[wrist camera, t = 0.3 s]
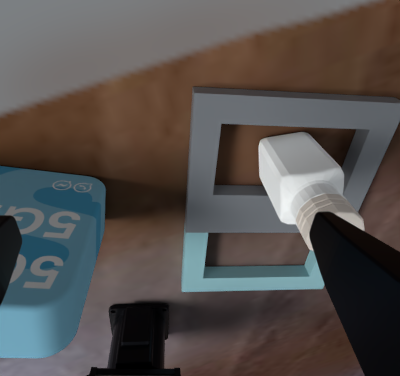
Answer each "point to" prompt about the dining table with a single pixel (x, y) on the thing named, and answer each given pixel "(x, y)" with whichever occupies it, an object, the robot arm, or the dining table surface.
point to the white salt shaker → (303, 181)
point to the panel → (256, 195)
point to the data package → (49, 257)
